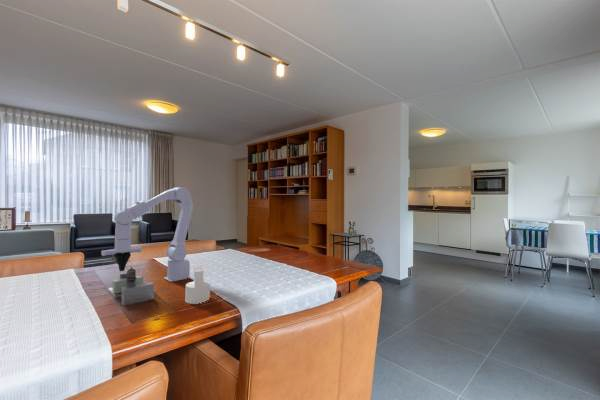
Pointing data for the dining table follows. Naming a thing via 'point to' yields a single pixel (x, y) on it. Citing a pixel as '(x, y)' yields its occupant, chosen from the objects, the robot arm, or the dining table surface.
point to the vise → (135, 293)
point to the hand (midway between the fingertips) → (121, 270)
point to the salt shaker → (131, 277)
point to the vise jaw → (124, 282)
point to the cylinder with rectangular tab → (197, 288)
